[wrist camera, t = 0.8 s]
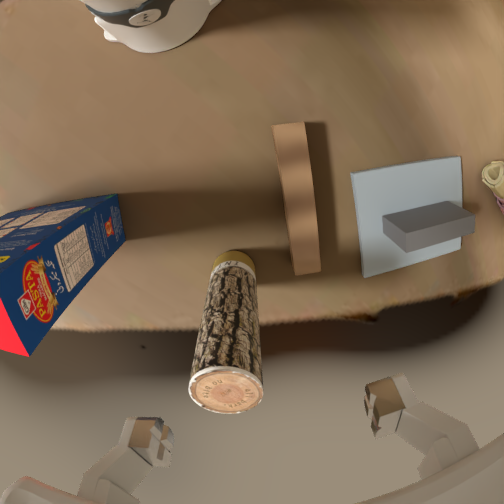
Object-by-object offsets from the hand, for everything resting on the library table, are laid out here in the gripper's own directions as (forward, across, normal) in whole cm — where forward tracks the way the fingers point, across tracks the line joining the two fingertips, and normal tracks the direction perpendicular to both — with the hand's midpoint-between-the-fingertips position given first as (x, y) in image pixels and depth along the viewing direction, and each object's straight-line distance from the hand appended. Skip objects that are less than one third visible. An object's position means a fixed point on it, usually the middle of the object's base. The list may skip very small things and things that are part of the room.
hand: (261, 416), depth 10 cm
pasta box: (+35, +34, -5) cm, 50 cm away
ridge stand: (+35, -27, +8) cm, 45 cm away
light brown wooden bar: (+36, -7, +1) cm, 36 cm away
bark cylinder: (+35, +5, +10) cm, 37 cm away
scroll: (+36, -52, +9) cm, 64 cm away
